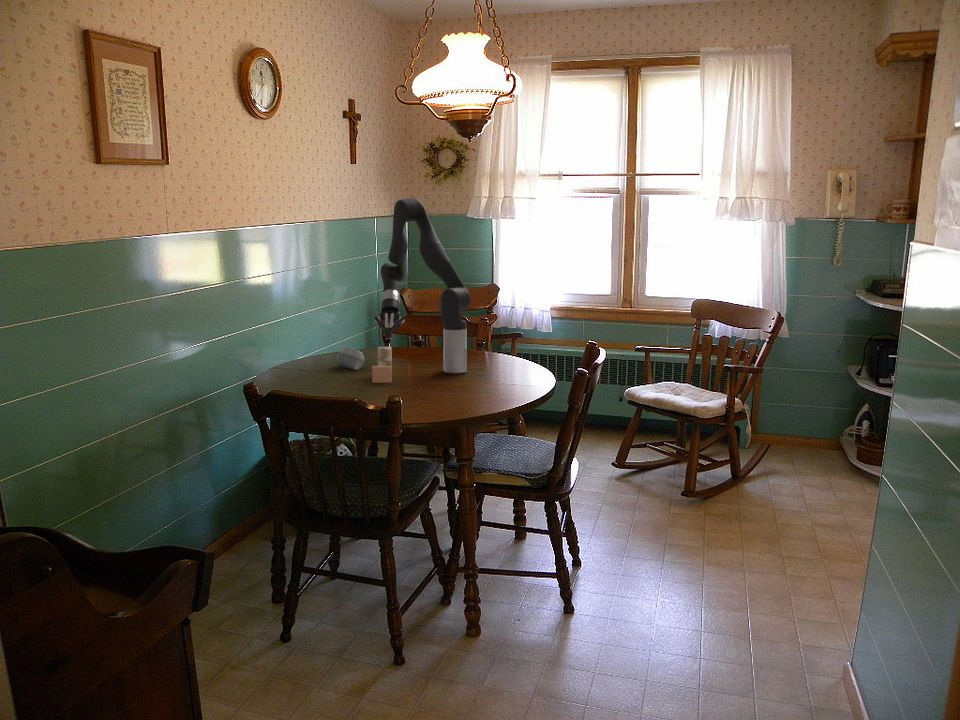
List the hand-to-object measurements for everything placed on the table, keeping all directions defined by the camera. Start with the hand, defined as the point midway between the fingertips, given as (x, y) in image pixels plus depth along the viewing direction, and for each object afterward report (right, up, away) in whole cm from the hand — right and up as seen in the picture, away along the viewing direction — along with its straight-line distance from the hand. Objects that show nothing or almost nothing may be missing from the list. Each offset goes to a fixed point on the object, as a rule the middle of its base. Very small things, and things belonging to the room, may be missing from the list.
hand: (388, 337), depth 310 cm
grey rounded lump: (-15, -13, 0) cm, 20 cm away
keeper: (0, -15, -12) cm, 19 cm away
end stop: (0, -17, -24) cm, 29 cm away
